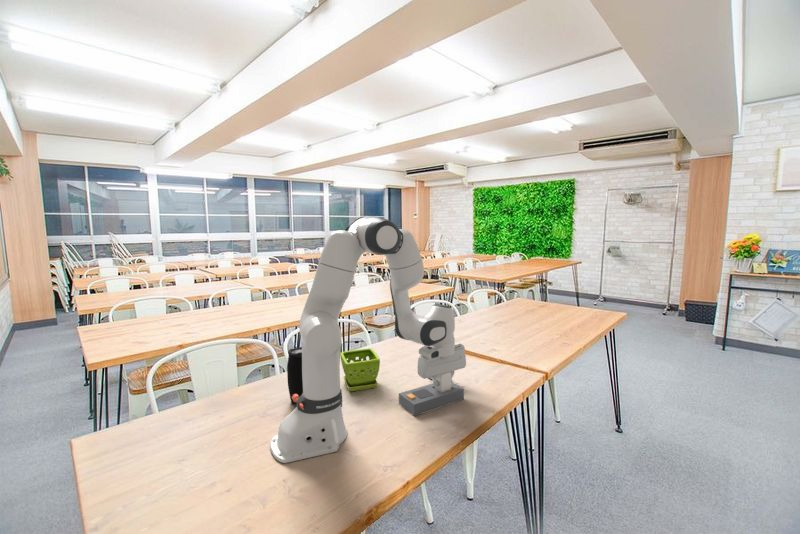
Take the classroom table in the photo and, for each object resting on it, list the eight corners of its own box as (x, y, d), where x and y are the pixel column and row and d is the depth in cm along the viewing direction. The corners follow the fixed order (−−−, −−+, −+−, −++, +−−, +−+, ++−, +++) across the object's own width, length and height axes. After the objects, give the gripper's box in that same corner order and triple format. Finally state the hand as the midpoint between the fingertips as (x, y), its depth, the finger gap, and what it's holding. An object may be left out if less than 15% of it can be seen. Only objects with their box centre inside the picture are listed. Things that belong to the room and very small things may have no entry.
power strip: (414, 415, 122) (414, 403, 121) (398, 403, 130) (398, 391, 130) (463, 399, 133) (464, 387, 133) (446, 389, 142) (446, 377, 141)
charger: (441, 393, 131) (441, 374, 130) (434, 389, 135) (434, 370, 134) (451, 390, 133) (451, 372, 133) (443, 386, 137) (443, 368, 136)
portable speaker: (284, 403, 132) (281, 351, 130) (301, 393, 140) (299, 344, 138) (302, 408, 128) (299, 355, 126) (319, 397, 137) (317, 347, 134)
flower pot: (340, 380, 151) (339, 351, 150) (373, 376, 155) (372, 347, 154) (346, 395, 138) (345, 363, 137) (381, 389, 142) (380, 358, 141)
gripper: (458, 340, 140) (458, 374, 142) (414, 350, 130) (415, 387, 131) (469, 345, 135) (469, 380, 136) (425, 355, 124) (425, 393, 126)
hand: (442, 383), depth 134 cm, fingers closed on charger, 4 cm apart
